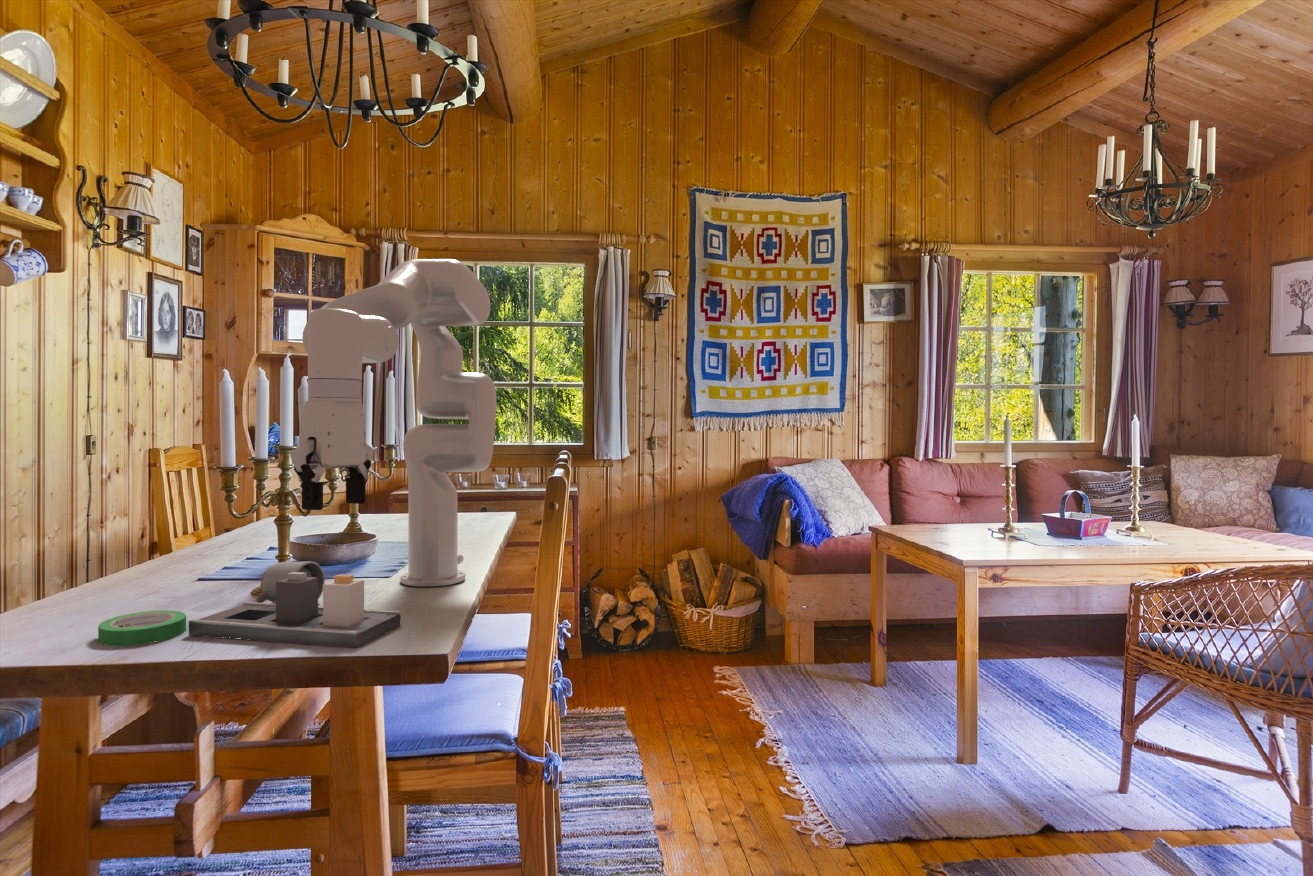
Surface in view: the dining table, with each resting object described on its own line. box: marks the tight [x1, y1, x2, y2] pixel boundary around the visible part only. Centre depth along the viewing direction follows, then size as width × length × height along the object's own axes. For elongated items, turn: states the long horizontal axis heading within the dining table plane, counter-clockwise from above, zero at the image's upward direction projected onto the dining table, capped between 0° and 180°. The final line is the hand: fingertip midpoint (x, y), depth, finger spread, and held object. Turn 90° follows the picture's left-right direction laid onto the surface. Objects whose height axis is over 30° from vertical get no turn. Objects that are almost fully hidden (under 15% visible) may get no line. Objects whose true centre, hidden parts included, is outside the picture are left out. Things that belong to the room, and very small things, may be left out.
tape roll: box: [97, 609, 187, 647], centre depth 117 cm, size 11×11×3 cm
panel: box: [188, 601, 401, 649], centre depth 120 cm, size 12×28×2 cm, turn 79°
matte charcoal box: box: [276, 572, 319, 624], centre depth 120 cm, size 4×4×9 cm
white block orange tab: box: [322, 574, 365, 627], centre depth 118 cm, size 4×4×9 cm
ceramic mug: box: [254, 560, 325, 604], centre depth 135 cm, size 11×8×8 cm
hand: (334, 506), depth 116 cm, fingers open, 9 cm apart
